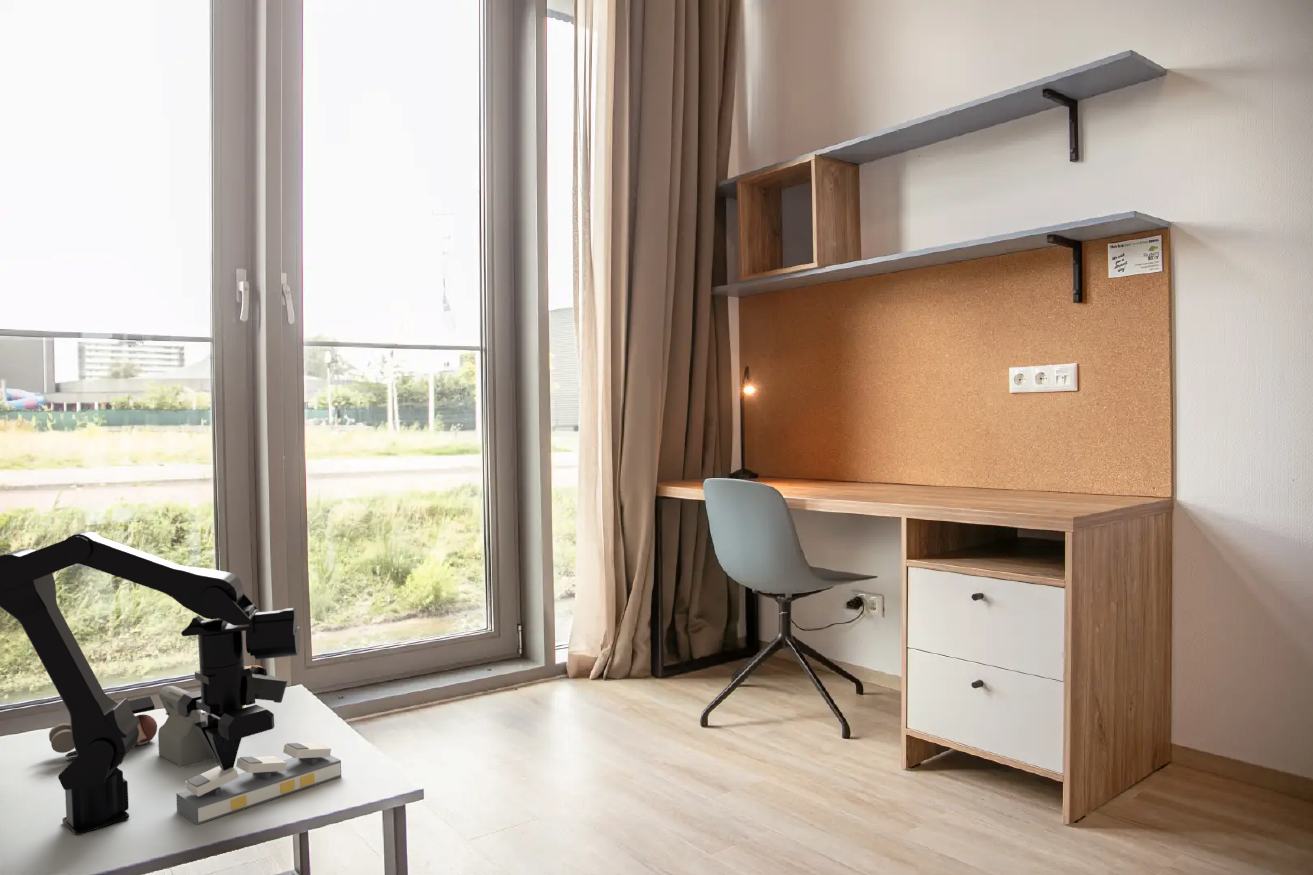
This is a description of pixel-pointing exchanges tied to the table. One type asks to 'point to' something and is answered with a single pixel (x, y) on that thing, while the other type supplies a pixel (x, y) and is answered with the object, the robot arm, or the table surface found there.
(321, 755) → the rocker far
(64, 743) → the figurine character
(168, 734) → the digital clock
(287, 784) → the switch unit
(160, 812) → the table surface
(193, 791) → the rocker near
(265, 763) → the rocker middle
